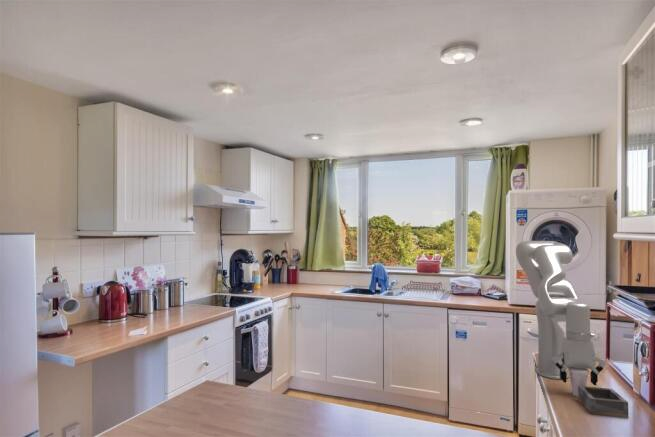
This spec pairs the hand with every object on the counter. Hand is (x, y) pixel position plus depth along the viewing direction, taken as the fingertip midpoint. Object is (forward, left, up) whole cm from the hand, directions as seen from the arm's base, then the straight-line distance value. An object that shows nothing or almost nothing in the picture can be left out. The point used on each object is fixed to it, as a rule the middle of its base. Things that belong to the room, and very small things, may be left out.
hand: (578, 382), depth 139 cm
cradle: (+9, +4, -5) cm, 11 cm away
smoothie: (0, 0, -5) cm, 5 cm away
